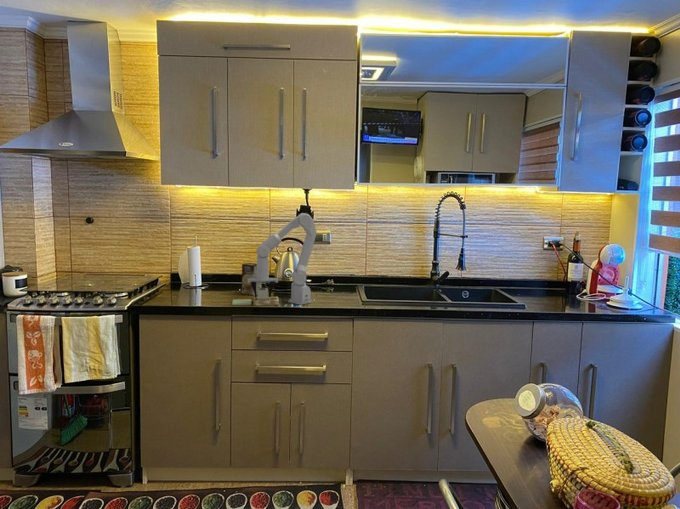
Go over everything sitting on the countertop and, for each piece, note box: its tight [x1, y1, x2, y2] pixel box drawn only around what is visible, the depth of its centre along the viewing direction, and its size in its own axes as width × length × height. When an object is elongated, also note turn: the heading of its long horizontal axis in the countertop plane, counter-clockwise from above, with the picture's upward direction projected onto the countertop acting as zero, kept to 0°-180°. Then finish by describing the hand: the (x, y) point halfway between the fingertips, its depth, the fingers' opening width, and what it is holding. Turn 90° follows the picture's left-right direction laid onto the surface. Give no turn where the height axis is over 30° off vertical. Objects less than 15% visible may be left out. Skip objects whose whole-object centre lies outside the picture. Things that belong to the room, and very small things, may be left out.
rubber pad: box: [231, 298, 252, 306], centre depth 229 cm, size 9×9×1 cm
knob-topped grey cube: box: [257, 287, 269, 300], centre depth 230 cm, size 5×5×7 cm
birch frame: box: [253, 296, 280, 306], centre depth 230 cm, size 12×10×2 cm
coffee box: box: [241, 262, 262, 296], centre depth 252 cm, size 9×6×16 cm
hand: (262, 297), depth 230 cm, fingers open, 6 cm apart
